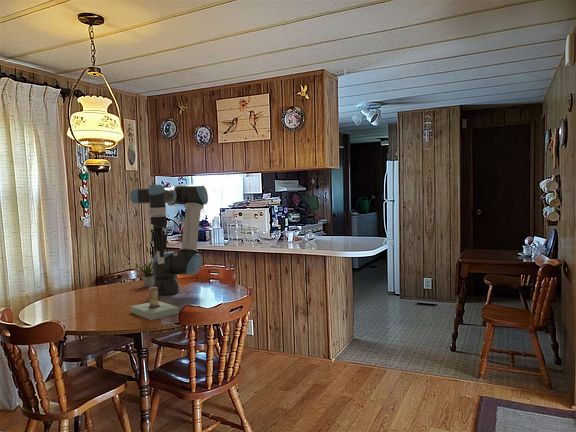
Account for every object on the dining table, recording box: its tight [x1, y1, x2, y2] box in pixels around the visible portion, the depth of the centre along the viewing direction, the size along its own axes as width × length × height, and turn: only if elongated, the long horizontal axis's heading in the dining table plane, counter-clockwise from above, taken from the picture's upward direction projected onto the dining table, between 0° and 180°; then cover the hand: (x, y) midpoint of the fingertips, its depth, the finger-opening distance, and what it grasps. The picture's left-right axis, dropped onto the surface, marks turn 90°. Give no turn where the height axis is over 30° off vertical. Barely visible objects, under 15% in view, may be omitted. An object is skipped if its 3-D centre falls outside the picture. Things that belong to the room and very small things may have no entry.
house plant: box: [137, 260, 154, 288], centre depth 275 cm, size 14×14×16 cm
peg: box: [148, 286, 159, 308], centre depth 209 cm, size 4×4×12 cm
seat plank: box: [130, 300, 180, 321], centre depth 209 cm, size 20×14×3 cm
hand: (161, 263), depth 218 cm, fingers closed
